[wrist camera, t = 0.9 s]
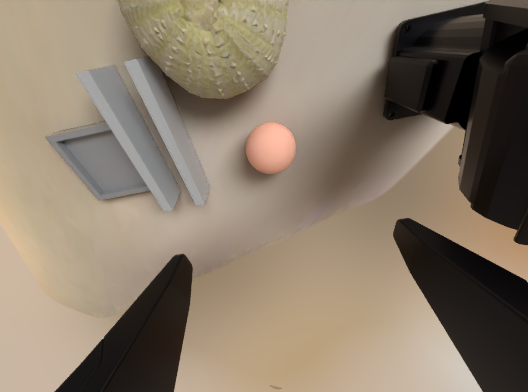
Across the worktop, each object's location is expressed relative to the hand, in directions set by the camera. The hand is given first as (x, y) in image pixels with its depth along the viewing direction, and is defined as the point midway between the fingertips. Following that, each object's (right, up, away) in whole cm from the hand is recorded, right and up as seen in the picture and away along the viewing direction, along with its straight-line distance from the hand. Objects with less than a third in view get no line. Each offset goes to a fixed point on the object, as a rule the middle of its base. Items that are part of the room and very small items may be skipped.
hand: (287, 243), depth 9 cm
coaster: (-14, +5, +10) cm, 18 cm away
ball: (-1, +7, +10) cm, 12 cm away
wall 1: (-11, +7, +9) cm, 16 cm away
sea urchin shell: (-4, +14, +5) cm, 15 cm away
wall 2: (-8, +7, +9) cm, 14 cm away
